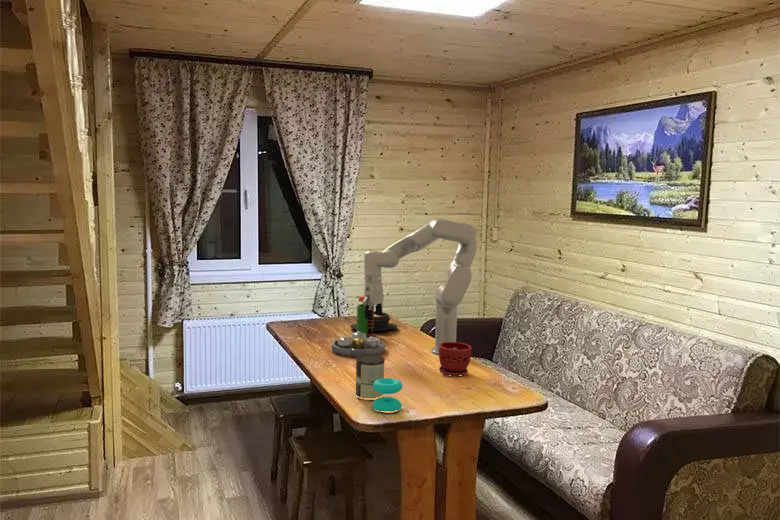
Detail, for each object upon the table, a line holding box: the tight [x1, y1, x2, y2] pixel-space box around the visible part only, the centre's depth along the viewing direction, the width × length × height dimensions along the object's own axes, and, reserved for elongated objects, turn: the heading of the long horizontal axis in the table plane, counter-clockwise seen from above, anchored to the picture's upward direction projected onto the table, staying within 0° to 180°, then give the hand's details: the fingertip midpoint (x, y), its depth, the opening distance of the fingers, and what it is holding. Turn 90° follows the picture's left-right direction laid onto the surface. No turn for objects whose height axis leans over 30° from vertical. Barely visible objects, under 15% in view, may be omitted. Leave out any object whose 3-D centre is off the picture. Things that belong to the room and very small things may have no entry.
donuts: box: [372, 377, 403, 411], centre depth 225 cm, size 10×10×10 cm
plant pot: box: [438, 341, 472, 377], centre depth 269 cm, size 13×13×12 cm
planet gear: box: [363, 336, 381, 350], centre depth 300 cm, size 8×8×5 cm
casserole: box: [349, 311, 398, 333], centre depth 346 cm, size 25×19×8 cm
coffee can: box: [355, 355, 386, 398], centre depth 238 cm, size 10×10×14 cm
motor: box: [355, 296, 375, 338], centre depth 329 cm, size 10×9×20 cm
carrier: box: [331, 331, 386, 358], centre depth 303 cm, size 24×24×7 cm
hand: (373, 316), depth 298 cm, fingers open, 9 cm apart
